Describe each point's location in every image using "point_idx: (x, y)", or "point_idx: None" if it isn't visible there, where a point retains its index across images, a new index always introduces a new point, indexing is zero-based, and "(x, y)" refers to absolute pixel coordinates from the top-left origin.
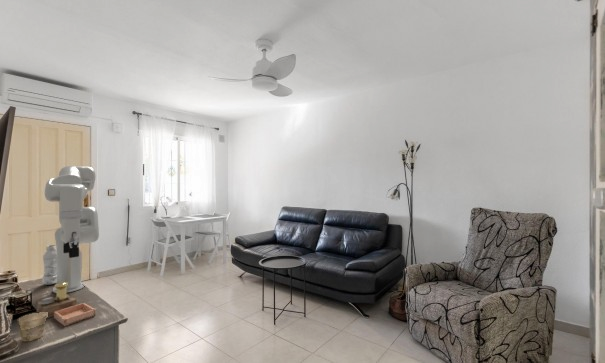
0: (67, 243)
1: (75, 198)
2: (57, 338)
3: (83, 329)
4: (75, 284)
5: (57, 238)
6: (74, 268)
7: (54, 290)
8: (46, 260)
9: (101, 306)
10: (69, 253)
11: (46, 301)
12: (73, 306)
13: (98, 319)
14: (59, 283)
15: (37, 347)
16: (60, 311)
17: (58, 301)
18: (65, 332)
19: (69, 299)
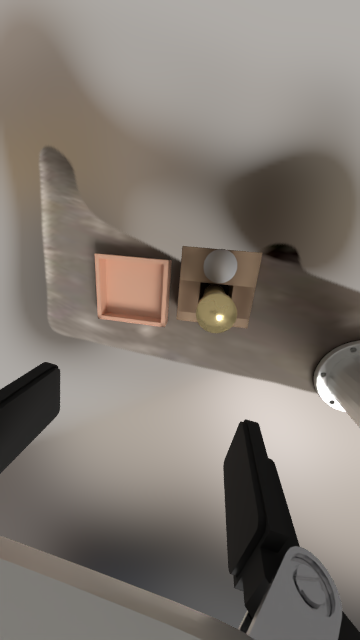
0: (254, 559)
1: None
2: (54, 219)
3: (56, 267)
4: (332, 386)
5: None
6: None
7: None
8: None
9: (144, 345)
10: (11, 383)
11: (206, 257)
12: (162, 302)
13: (80, 307)
14: (223, 310)
15: (42, 176)
16: (164, 273)
17: (208, 289)
18: (70, 241)
19: (195, 311)
